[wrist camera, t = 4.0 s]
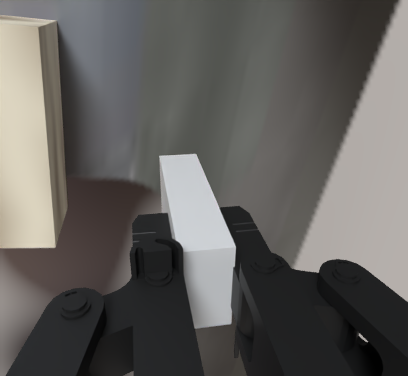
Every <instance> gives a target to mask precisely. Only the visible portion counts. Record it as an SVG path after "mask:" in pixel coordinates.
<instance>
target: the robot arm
mask: <svg viewBox="0 0 408 376" xmlns="http://www.w3.org/2000/svg"><path fill="white" fill-rule="evenodd" d="M160 179H161V201H162V213H158V214H146V215H138V217H137V218H136V219H135V221H134V222H133V224H132V229H133V231H132V233H133V247H132V248H131V251H130V263H131V274H132V277H131V279H130V281H129V282H128V283H127V284H126V285H125V286H123V287H122V288H121V289H119V290H117V291H115V292H112V293H110V294H107V295H104V296H102V295H101V294H100V293H98V292H97V291H95V290H93V289H89V288H76V289H71V290H68V291H65V292H63V293H61V294H60V295H58V296H56V297H55V298H53V300H52V301H51V302H50V303H49V304H48V305H47V307H46V309H45V310H44V312H43V314H42V315H41V317H40V319H39V321H38V322H37V324H36V326H35V327H34V329H33V330H32V332H31V334H30V336H29V337H28V339H27V341H26V342H25V344H24V346H23V347H22V349H21V351H20V352H19V354H18V356H17V358H16V359H15V361H14V363H13V364H12V366H11V368H10V369H9V371H8V373H7V374H6V376H123V375H125V374H127V373H129V372H131V371H134V376H204V372H203V367H202V363H201V358H200V353H199V348H198V343H197V338H196V333H195V329H196V328H204V327H212V326H219V325H227V324H231V318H232V312H233V315H234V318H235V321H236V330H235V344H234V358H238V354H239V351H240V354H241V357H242V360H243V364H244V367H245V370H246V373H247V376H408V302H407V301H405V300H404V299H403V298H402V297H400V296H399V295H398V294H397V293H395V292H394V291H393V290H391V289H390V288H389V287H388V286H386V285H385V284H384V283H383V282H381V281H380V280H379V279H378V278H376V277H375V276H374V275H372V274H371V273H370V272H369V271H367V270H366V269H365V268H363V267H361V266H360V265H358V264H356V263H353V262H350V261H347V260H340V259H336V260H329V261H327V262H325V263H323V264H322V266H321V267H320V270H319V273H316V272H306V271H300V270H295V269H292V268H290V266H289V264H288V263H287V262H286V261H285V260H284V259H283V258H282V257H280V256H278V255H277V254H274V253H271V251H270V250H269V248H268V246H267V244H266V242H265V241H264V239H263V237H262V235H261V233H260V232H259V230H258V228H257V226H256V225H255V223H254V221H253V219H252V217H251V216H250V214H249V213H248V212H247V211H246V210H244V209H243V208H241V207H240V206H234V207H221V208H219V206H218V204H217V202H216V199H215V197H214V195H213V192H212V190H211V188H210V185H209V183H208V181H207V178H206V176H205V174H204V171H203V169H202V167H201V164H200V162H199V160H198V157H197V155H196V154H187V155H168V156H160ZM359 333H360V334H361V335H362V336H363V337H364V338H365V339H366V340H367V341H368V342H365V341H364V340H363V339H361V338H360V337H359V336H358V335H359Z"/></svg>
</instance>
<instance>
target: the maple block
mask: <svg viewBox="0 0 408 376" xmlns="http://www.w3.org/2000/svg"><path fill="white" fill-rule="evenodd" d="M67 208H68V192H67V177H66V170H65V153H64V136H63V119H62V102H61V85H60V68H59V51H58V34H57V21H54V20H44V19H34V18H25V17H15V16H5V15H0V248H55V247H56V245H57V242H58V238H59V235H60V232H61V228H62V225H63V222H64V219H65V215H66V212H67Z"/></svg>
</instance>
